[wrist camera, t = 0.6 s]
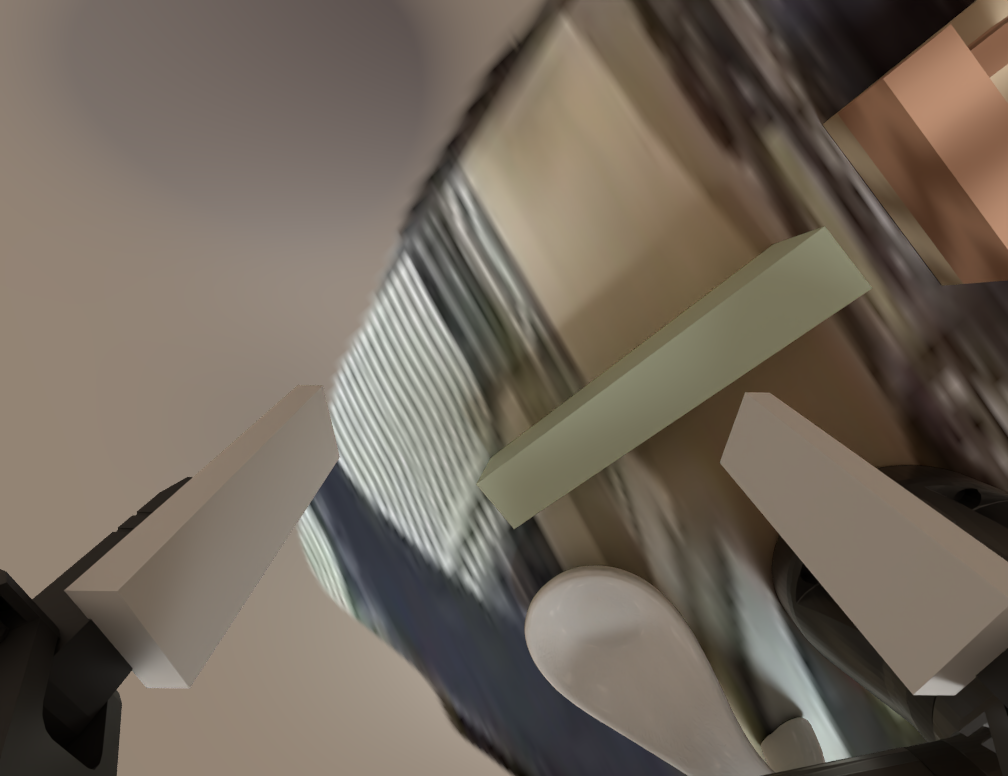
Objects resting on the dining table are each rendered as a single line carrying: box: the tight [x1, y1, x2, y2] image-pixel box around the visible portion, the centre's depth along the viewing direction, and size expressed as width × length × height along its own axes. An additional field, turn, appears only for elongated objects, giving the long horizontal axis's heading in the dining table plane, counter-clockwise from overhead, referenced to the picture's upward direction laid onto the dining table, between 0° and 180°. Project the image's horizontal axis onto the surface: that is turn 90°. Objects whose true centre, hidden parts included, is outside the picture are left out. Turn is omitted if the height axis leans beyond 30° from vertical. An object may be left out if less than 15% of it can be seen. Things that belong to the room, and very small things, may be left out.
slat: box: [476, 226, 872, 529], centre depth 24 cm, size 4×24×5 cm, turn 130°
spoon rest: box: [525, 565, 825, 776], centre depth 26 cm, size 24×12×7 cm, turn 59°
